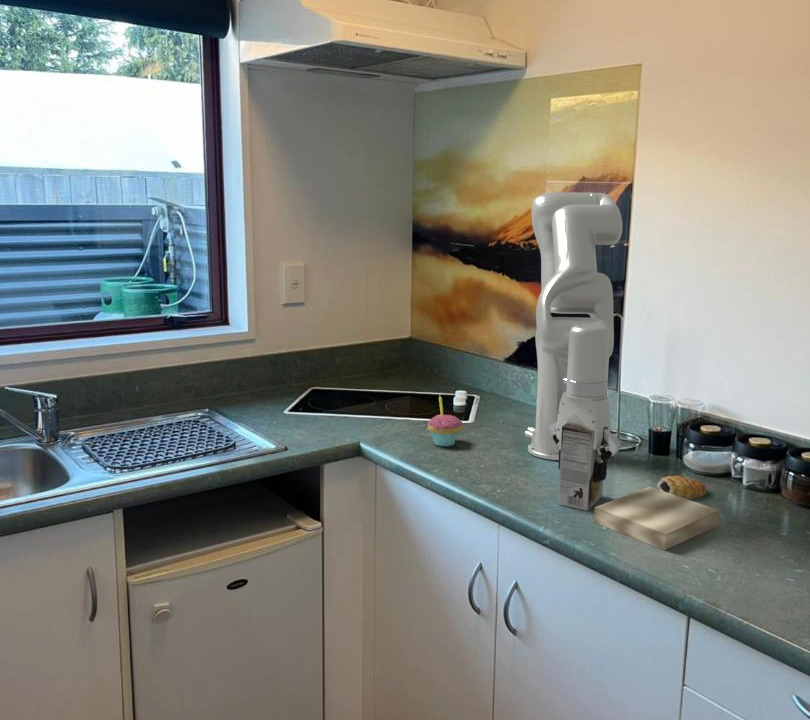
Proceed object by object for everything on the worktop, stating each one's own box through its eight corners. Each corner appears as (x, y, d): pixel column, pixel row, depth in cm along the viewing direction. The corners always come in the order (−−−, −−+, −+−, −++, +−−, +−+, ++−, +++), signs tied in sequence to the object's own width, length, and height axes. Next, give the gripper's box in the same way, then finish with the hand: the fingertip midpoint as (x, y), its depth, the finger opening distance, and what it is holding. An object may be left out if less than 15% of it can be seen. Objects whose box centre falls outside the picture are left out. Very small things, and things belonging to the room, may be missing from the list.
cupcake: (420, 443, 194) (420, 395, 192) (443, 435, 200) (444, 389, 198) (446, 451, 188) (447, 402, 186) (469, 443, 194) (471, 395, 192)
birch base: (593, 522, 148) (594, 507, 148) (648, 500, 159) (649, 486, 158) (664, 550, 137) (665, 534, 136) (718, 525, 147) (719, 510, 147)
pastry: (693, 486, 167) (695, 469, 166) (713, 498, 161) (715, 481, 160) (653, 490, 165) (655, 473, 164) (672, 502, 159) (673, 484, 158)
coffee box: (572, 490, 164) (576, 414, 161) (603, 496, 161) (607, 419, 158) (556, 504, 157) (560, 425, 153) (588, 511, 153) (593, 430, 150)
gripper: (539, 382, 158) (535, 466, 162) (611, 400, 145) (605, 491, 149) (564, 377, 163) (560, 459, 167) (636, 394, 150) (630, 482, 153)
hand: (581, 474), depth 158 cm, fingers closed on coffee box, 8 cm apart
